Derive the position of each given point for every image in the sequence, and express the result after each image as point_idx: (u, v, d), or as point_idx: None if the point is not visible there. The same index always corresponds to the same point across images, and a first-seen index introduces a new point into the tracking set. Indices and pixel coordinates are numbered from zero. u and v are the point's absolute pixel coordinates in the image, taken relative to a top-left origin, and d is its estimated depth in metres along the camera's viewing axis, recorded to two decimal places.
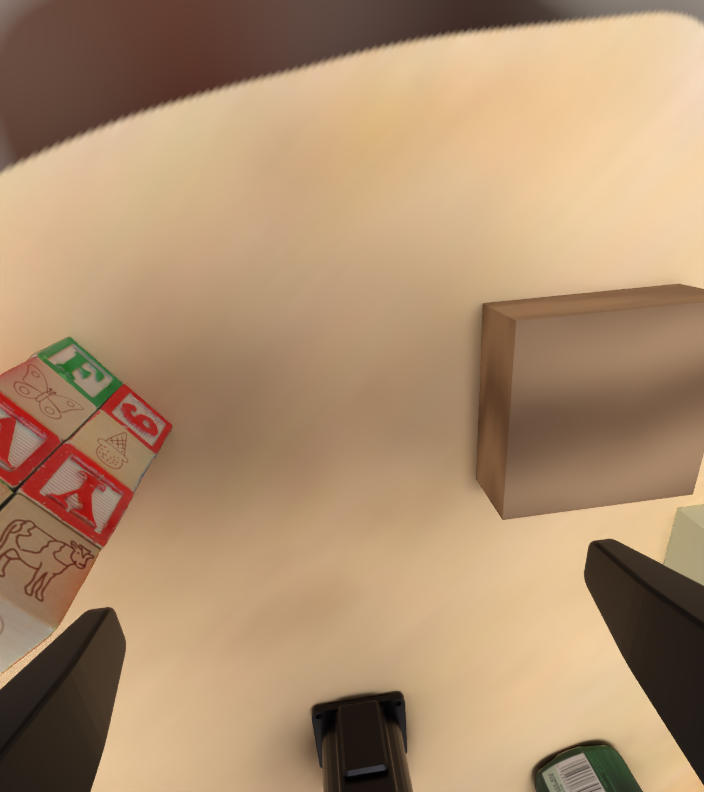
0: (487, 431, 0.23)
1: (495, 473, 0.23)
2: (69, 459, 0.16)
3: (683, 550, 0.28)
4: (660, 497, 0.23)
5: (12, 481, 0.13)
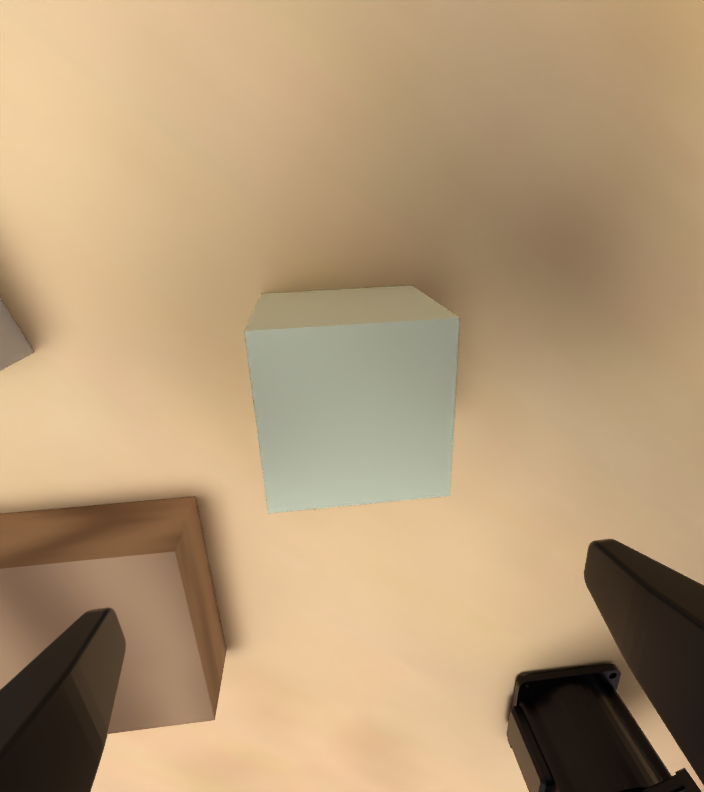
0: None
1: None
2: None
3: None
4: (181, 586, 0.18)
5: None
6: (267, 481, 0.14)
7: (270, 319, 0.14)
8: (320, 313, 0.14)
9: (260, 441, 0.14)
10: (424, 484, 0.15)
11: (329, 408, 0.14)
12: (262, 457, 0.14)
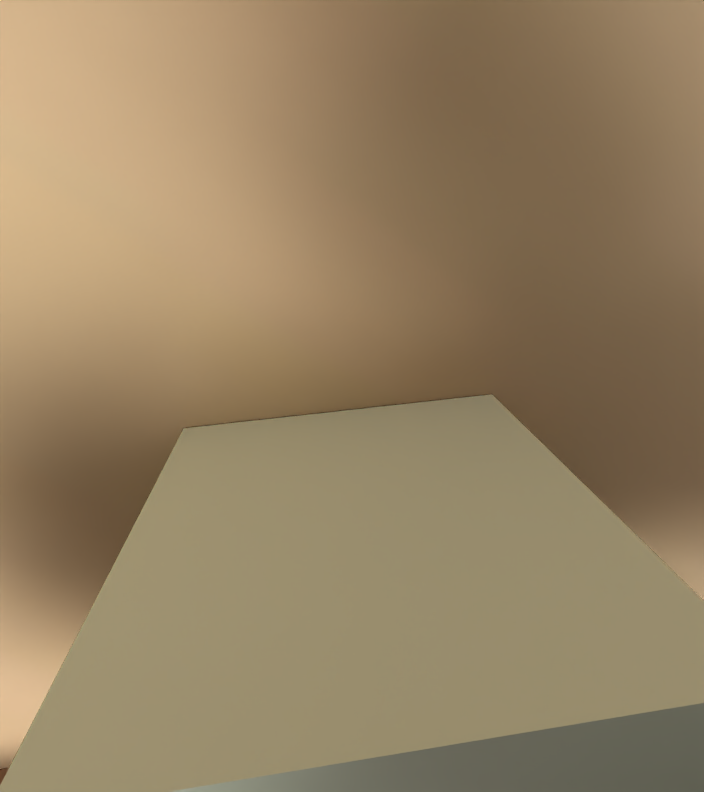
0: None
1: None
2: None
3: None
4: None
5: None
6: None
7: (133, 649, 0.04)
8: (296, 590, 0.05)
9: None
10: None
11: None
12: None
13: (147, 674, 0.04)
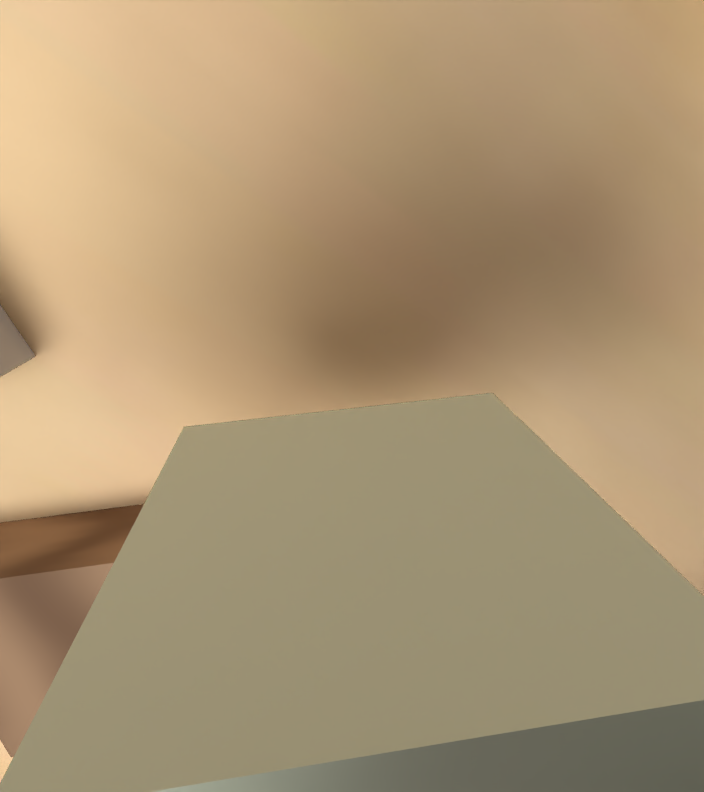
0: None
1: None
2: None
3: None
4: None
5: None
6: None
7: (135, 646, 0.04)
8: (297, 587, 0.05)
9: None
10: None
11: None
12: None
13: (148, 671, 0.04)
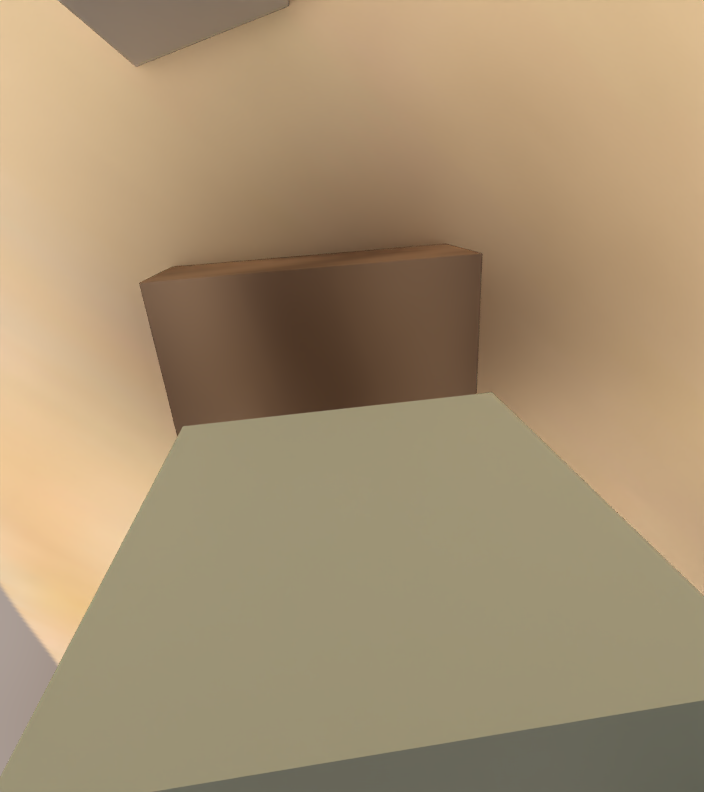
0: None
1: None
2: None
3: None
4: (477, 311, 0.14)
5: None
6: None
7: (131, 646, 0.04)
8: (295, 587, 0.05)
9: None
10: None
11: None
12: None
13: (145, 671, 0.04)
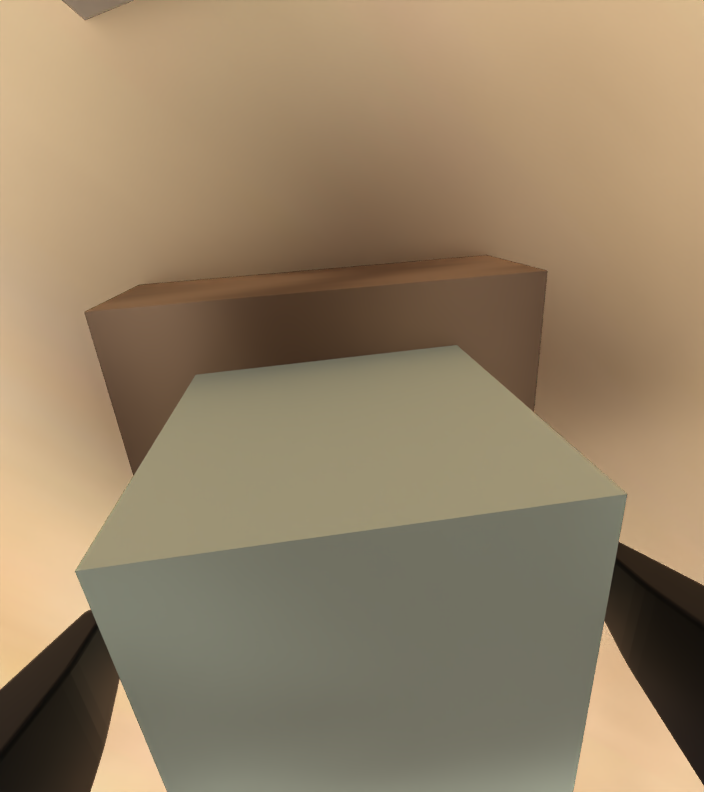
0: None
1: None
2: None
3: None
4: (537, 346, 0.11)
5: None
6: None
7: (168, 494, 0.06)
8: (286, 461, 0.06)
9: (161, 766, 0.06)
10: (521, 790, 0.07)
11: (313, 695, 0.06)
12: (170, 790, 0.06)
13: (178, 505, 0.06)
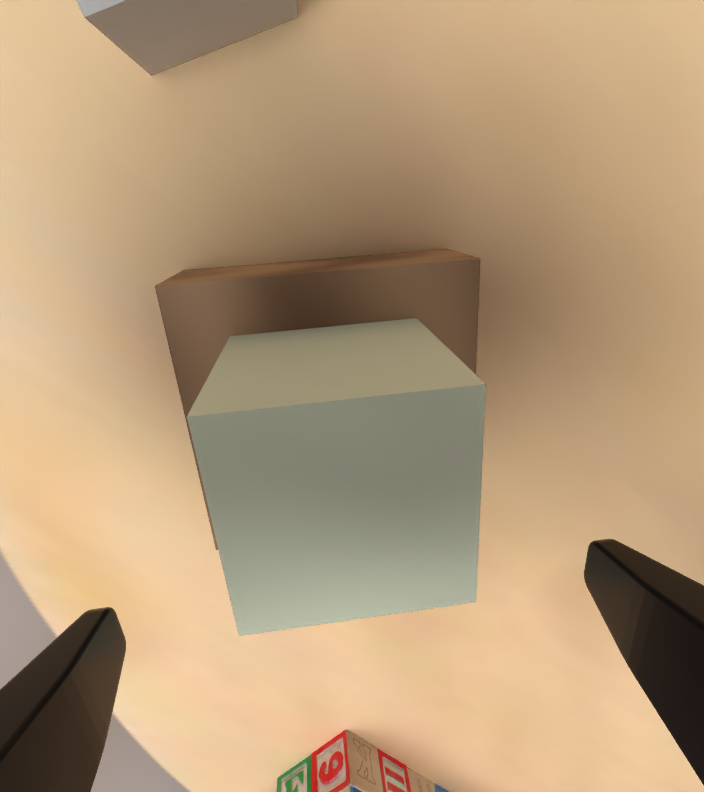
0: None
1: None
2: None
3: None
4: (475, 313, 0.15)
5: None
6: (234, 599, 0.11)
7: (228, 390, 0.10)
8: (297, 375, 0.11)
9: (221, 552, 0.10)
10: (442, 590, 0.11)
11: (311, 507, 0.10)
12: (225, 571, 0.10)
13: (235, 394, 0.10)
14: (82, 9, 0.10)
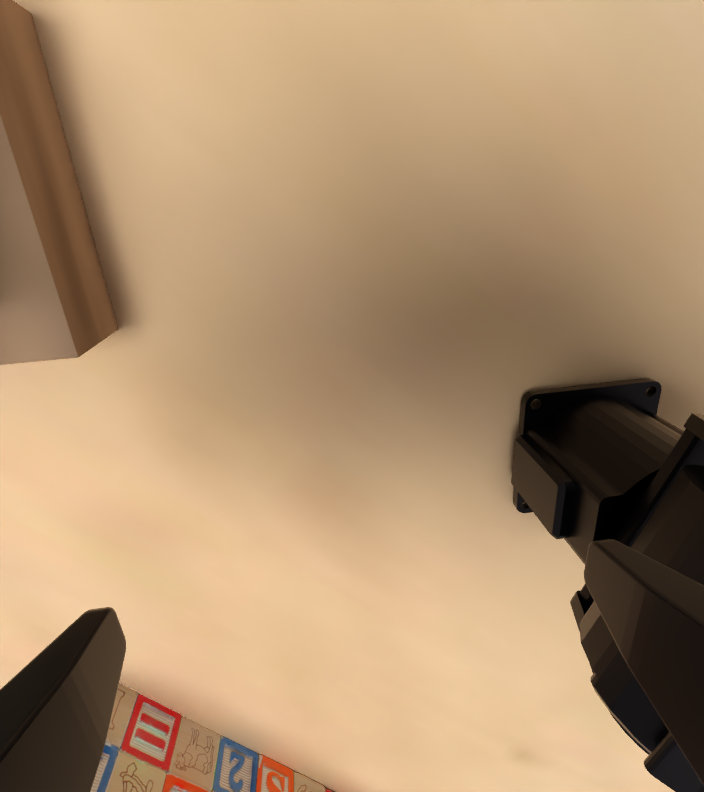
0: None
1: None
2: None
3: None
4: None
5: None
6: None
7: None
8: None
9: None
10: None
11: None
12: None
13: None
14: None
